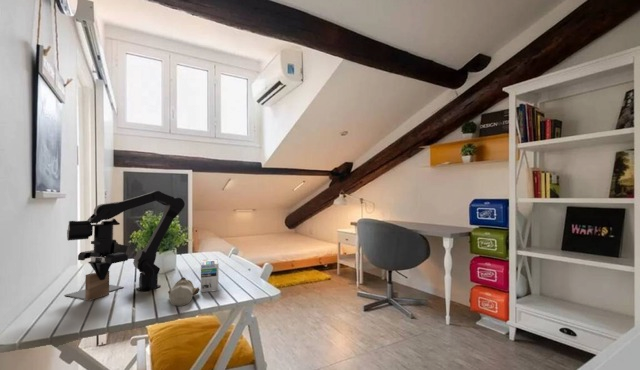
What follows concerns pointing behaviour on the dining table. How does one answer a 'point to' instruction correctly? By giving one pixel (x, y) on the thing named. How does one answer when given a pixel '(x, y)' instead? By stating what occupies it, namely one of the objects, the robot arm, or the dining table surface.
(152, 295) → the dining table surface
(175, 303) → the ceramic sculpture
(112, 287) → the mat
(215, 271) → the light bulb box
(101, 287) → the walnut tile
